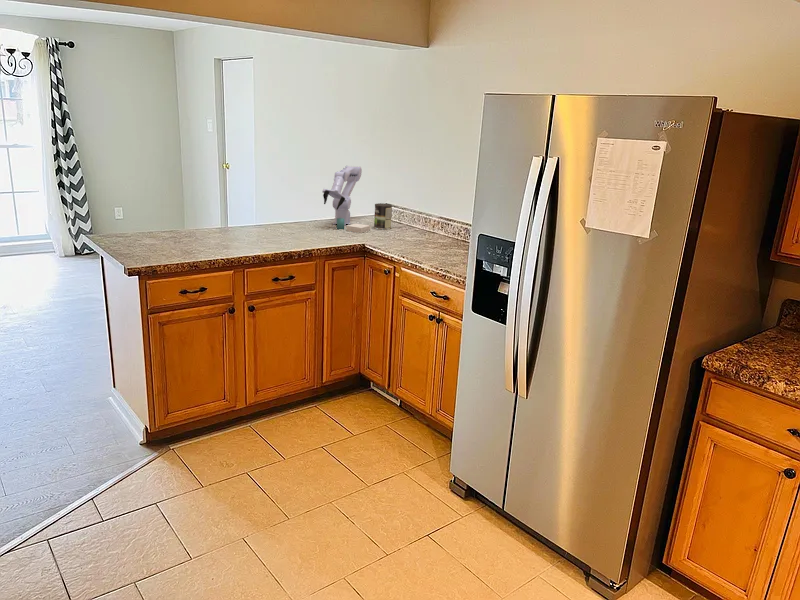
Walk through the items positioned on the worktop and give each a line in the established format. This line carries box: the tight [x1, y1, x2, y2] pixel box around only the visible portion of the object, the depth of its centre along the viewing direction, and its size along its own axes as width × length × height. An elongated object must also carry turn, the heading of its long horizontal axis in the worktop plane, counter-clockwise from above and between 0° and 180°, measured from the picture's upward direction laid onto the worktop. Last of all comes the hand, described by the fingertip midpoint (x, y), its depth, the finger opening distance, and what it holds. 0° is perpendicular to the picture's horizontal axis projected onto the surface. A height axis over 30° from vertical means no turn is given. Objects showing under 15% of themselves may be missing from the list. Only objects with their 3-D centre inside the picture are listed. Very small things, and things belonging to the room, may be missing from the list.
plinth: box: [345, 223, 371, 234], centre depth 352 cm, size 10×10×3 cm
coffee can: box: [373, 202, 393, 230], centre depth 363 cm, size 10×10×14 cm
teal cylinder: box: [336, 218, 345, 230], centre depth 355 cm, size 4×4×6 cm
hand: (331, 206), depth 348 cm, fingers open, 7 cm apart
